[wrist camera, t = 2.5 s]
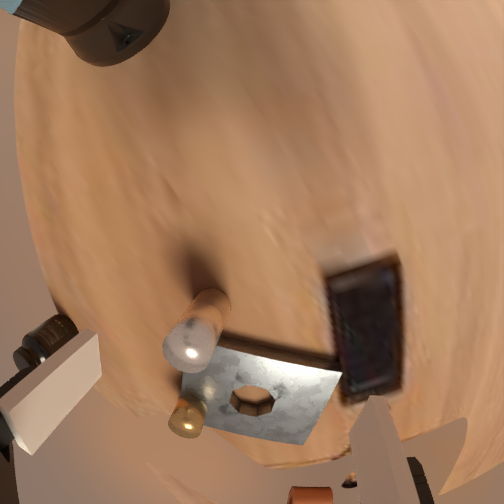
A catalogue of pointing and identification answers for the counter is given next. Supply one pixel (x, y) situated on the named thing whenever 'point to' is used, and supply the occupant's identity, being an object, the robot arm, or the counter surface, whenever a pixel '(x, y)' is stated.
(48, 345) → the supplement bottle
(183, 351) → the rounded peg
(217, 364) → the plate
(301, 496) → the crank
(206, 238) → the counter surface
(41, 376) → the robot arm
